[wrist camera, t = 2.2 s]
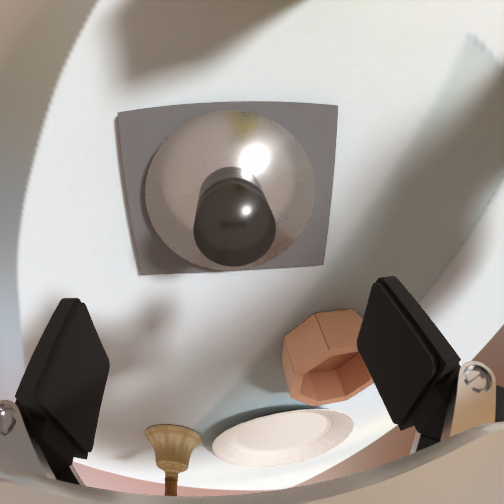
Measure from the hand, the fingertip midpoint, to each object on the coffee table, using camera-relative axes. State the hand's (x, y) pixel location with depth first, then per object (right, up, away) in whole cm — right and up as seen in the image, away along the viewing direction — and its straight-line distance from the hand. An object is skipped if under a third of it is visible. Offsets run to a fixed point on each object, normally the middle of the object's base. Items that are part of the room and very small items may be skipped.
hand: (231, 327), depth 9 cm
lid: (-1, +6, +10) cm, 12 cm away
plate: (+5, -24, +30) cm, 39 cm away
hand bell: (-11, -24, +28) cm, 38 cm away
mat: (-1, +6, +11) cm, 13 cm away
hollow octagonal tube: (+8, -7, +20) cm, 22 cm away
